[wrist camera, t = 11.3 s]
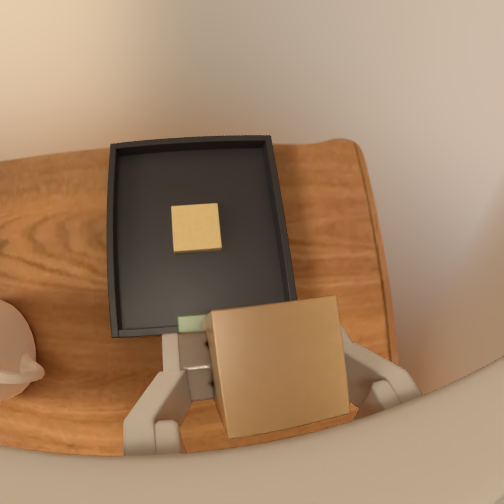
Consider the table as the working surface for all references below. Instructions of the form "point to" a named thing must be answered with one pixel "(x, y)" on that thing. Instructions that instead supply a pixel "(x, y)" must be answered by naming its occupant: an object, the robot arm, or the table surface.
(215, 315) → the scrub brush
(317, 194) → the table surface
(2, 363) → the mug
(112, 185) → the black tray
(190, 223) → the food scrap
